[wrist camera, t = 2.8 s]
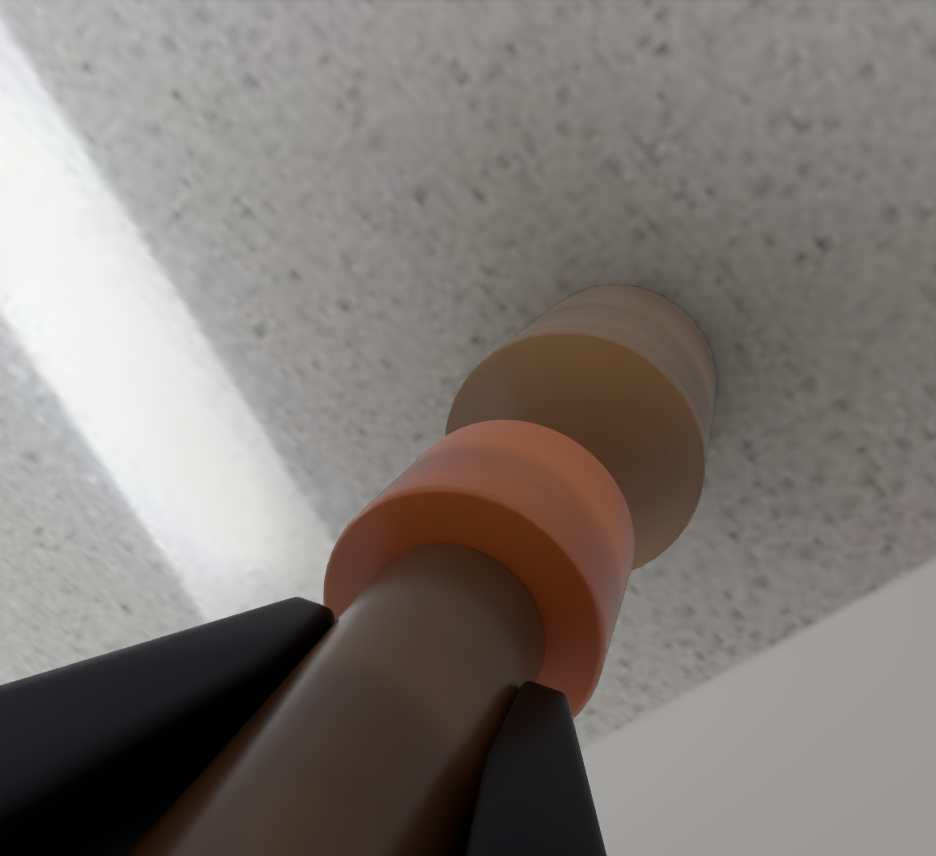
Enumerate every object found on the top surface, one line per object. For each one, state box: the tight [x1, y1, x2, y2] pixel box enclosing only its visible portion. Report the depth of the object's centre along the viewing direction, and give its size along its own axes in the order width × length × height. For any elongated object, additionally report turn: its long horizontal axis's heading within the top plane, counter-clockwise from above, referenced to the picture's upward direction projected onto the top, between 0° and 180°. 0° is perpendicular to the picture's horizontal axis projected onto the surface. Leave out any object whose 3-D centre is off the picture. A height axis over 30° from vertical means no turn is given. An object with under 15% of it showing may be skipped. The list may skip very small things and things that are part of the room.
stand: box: [445, 285, 717, 571], centre depth 17 cm, size 4×4×6 cm
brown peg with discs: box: [127, 420, 634, 856], centre depth 8 cm, size 3×3×8 cm
